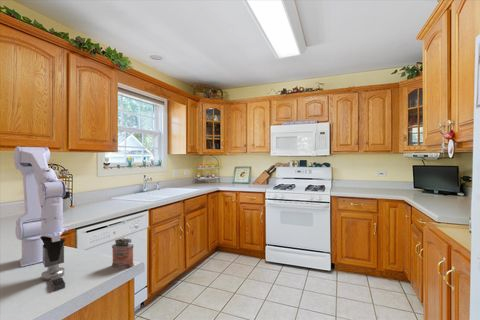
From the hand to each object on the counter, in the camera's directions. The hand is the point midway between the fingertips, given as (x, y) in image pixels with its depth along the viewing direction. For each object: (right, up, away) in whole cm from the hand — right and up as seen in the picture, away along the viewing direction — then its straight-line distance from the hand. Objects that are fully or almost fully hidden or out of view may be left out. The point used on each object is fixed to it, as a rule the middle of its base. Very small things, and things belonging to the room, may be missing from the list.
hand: (52, 258), depth 80 cm
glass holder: (-76, -8, +104) cm, 129 cm away
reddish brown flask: (+20, -6, +7) cm, 22 cm away
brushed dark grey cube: (0, -2, 0) cm, 2 cm away
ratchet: (+3, -6, -3) cm, 7 cm away
